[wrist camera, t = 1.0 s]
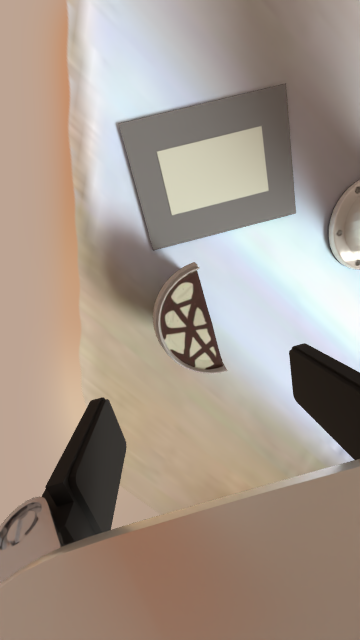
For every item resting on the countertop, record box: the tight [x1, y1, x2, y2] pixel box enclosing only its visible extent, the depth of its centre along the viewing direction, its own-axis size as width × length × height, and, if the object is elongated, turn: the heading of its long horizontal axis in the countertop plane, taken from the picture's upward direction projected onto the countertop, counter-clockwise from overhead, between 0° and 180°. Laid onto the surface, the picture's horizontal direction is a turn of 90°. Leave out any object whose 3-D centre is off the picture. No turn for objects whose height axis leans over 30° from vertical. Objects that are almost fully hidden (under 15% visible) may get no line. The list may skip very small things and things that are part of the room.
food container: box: [153, 262, 227, 373], centre depth 25 cm, size 12×6×10 cm, turn 17°
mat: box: [119, 84, 296, 250], centre depth 25 cm, size 20×14×1 cm
